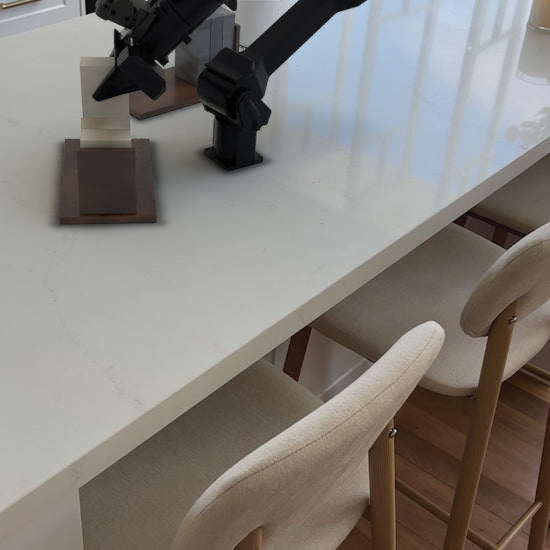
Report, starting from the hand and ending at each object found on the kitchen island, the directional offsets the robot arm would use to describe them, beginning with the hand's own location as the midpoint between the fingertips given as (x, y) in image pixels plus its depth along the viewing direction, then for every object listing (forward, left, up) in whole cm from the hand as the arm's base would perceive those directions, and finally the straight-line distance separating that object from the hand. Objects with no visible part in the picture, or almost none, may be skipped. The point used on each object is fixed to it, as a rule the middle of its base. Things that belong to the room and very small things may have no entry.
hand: (94, 93), depth 115 cm
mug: (+33, -47, -12) cm, 59 cm away
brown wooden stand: (-3, 0, -12) cm, 12 cm away
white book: (-1, -1, -6) cm, 6 cm away
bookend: (+19, -23, -12) cm, 32 cm away
